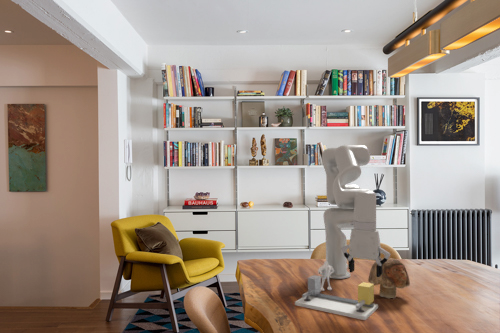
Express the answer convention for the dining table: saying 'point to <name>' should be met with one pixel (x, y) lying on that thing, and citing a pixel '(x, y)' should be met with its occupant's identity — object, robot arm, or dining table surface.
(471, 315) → the dining table surface
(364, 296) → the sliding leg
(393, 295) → the sculpture
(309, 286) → the rail
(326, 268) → the figurine
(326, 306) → the hole plate
